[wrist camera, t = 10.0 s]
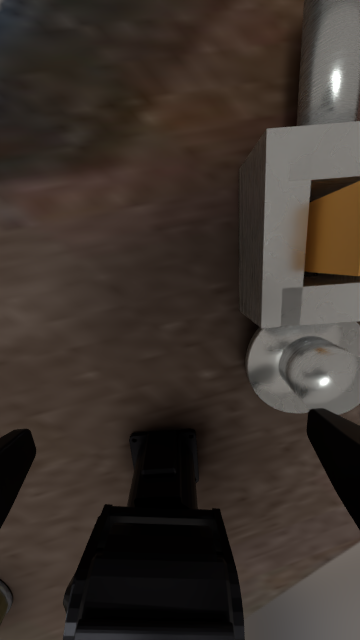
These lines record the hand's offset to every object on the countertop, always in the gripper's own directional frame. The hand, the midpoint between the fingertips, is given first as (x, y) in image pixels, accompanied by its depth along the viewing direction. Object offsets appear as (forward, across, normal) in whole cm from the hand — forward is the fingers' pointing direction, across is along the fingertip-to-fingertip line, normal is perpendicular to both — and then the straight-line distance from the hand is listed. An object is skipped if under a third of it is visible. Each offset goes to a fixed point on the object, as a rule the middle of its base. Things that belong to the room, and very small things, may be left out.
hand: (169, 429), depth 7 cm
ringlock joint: (+12, -10, -6) cm, 17 cm away
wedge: (+12, -10, -6) cm, 17 cm away
